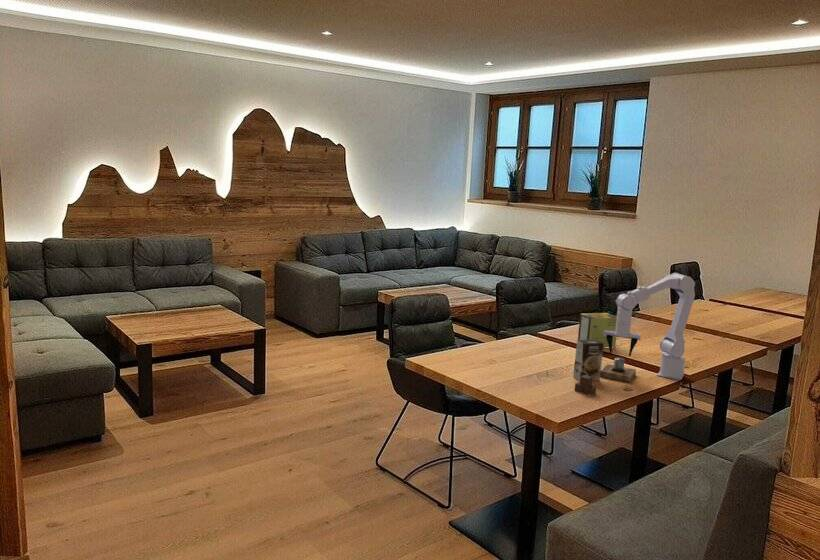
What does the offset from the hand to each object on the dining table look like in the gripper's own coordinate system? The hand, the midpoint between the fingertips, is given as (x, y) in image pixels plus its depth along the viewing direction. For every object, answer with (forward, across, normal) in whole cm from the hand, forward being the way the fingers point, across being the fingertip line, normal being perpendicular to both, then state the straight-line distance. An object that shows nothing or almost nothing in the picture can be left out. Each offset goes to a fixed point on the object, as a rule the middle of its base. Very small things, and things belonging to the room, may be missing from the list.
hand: (620, 354), depth 268 cm
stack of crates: (+10, +11, +26) cm, 30 cm away
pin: (+9, 0, 0) cm, 9 cm away
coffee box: (+10, +12, +10) cm, 19 cm away
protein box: (+10, +13, -45) cm, 48 cm away
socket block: (+10, 0, 0) cm, 10 cm away
